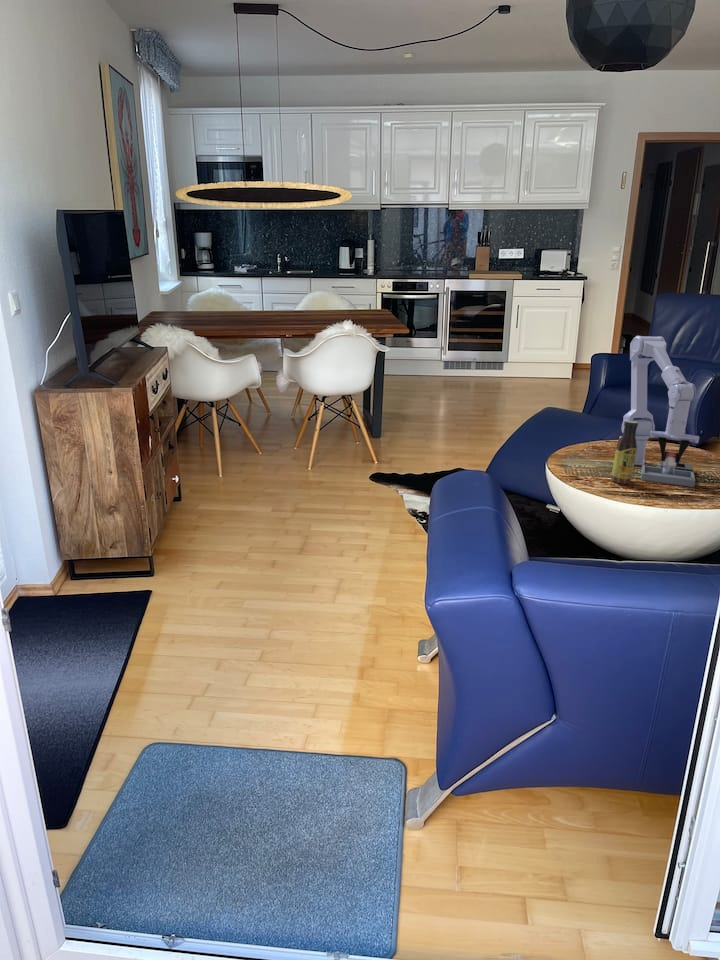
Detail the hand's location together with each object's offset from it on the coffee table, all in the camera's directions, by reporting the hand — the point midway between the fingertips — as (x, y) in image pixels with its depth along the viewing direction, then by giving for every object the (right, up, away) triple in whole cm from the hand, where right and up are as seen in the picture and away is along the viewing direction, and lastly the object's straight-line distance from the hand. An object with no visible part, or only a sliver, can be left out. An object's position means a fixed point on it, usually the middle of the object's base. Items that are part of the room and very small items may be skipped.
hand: (669, 461), depth 237 cm
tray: (0, -6, +2) cm, 6 cm away
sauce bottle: (-17, -7, -3) cm, 19 cm away
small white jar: (0, -4, +1) cm, 4 cm away
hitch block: (+6, -3, +11) cm, 13 cm away
